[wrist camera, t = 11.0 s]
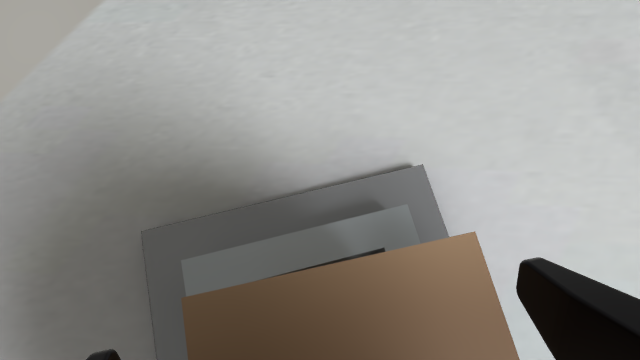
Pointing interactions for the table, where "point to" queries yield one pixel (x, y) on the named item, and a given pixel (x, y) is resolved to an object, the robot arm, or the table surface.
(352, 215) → the housing
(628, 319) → the robot arm
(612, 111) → the table surface
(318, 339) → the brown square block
